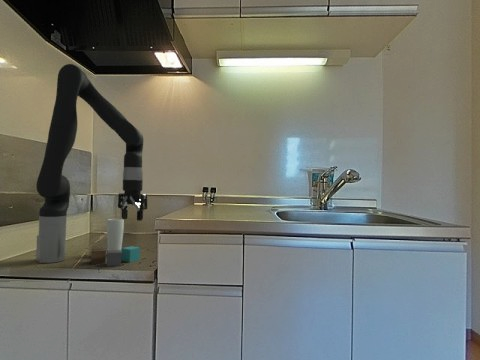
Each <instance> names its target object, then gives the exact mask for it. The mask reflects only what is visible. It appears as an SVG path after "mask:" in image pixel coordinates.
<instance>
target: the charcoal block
mask: <svg viewBox="0 0 480 360" xmlns="http://www.w3.org/2000/svg"><path fill="white" fill-rule="evenodd" d="M121 250H122V249H121ZM121 250H108V249H106V267H109V268H110V267H121V266H122V261H121Z"/></svg>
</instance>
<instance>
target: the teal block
mask: <svg viewBox="0 0 480 360" xmlns="http://www.w3.org/2000/svg"><path fill="white" fill-rule="evenodd" d="M140 260H141V247H139V246H132V245H131V246H126V247H122V248H121V262H127V263H134V262H137V261H140Z"/></svg>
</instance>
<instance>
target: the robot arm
mask: <svg viewBox="0 0 480 360" xmlns="http://www.w3.org/2000/svg"><path fill="white" fill-rule="evenodd" d="M78 97H79V98H81V99H82V100H83V101H85V103H87V105H88V106H90V108H91V109H92V110H93V111H94V112H95V114H97V116H98V117H99V118H100V119H101V120H102V121H103V122H104V123H105V125H107V126H108V127H109V128H110V129H111V130H113V131H114V132H115V133H116V135H117V136H118V137H119V138H120V139H121V140H122V141H123V142H124V143H125V153H124V156H123V171H122V191H123V192H124V193H123V192H119V193H118V195H117V196H118V198H117V208H118V209H120V210H121V219H124V220H127V219H128V213H129V212H128V211H129V210H128V208H129V206H131V205H132V206H134V207H135V208H136V220H137V221H138V222H140V221H141V222H142V221H143V218H144V211H145V210H147V209H148V194H147V193H141V192H142V191H143V184H144V183H143V179H144V178H143V176H144V175H143V151H144V150H143V149H144V136H143V134H142V132H141V131H140V130H138V129H137V127H135V126H134V124H133V123H132V122H131V121H129V120H127V118H126V116H125V115H123V113H121V112H120V111H119V109H117V107H116V106H114V105H113V104H112V103H111V102H110V101H109V100H108V99H106V98H105V97H104V96H103V95H102V94H101V93H100V91H98V89H96V87H95V86H94V85H93V83H92V82H91V81H90V79H89V78H88V76H87V74H86V73H85V72H84V71H83V69H81V68H80V67H79V66H77V65H76V64H74V63H66V64H64V65H63V66H62V67H61V68H60V69H59V71H58V73H57V83H56V95H55V100H54V101H55V102H54V106H53V107H54V108H53V110H52V116H51V119H50V125H49V129H48V137H47V142H46V147H45V151H44V156H43V157H44V158H43V161H42V165H41V167H40V170H39V174H38V177H37V180H36V184H35V185H36V191H37V193H38V194H39V196H40V197H42V198H43V199H44V203H43V205H42V206H41V207H40V208H39V212H38V217H39V218H38V234H37V235H36V253H35V261H37V262H38V263H39V264H48V263H49V264H51V263H58V262H62V261H64V260H66V237H67V212H68V209H69V207H70V196H71V195H70V194H71V183H70V182H69V179H68V178H67V176H65V175H63V169H64V165H65V161H66V159H67V157H68V156H69V154H70V152H71V151H72V149H73V146H75V145H74V144H75V142H76V137H77V133H78V113H77V100H78Z"/></svg>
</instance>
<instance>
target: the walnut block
mask: <svg viewBox="0 0 480 360" xmlns="http://www.w3.org/2000/svg"><path fill="white" fill-rule="evenodd" d="M90 253H91V258H90V264H91V265H101V264H102V265H103V264H107V248H106V247H96V248H95V247H93V248H91V252H90Z"/></svg>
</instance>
